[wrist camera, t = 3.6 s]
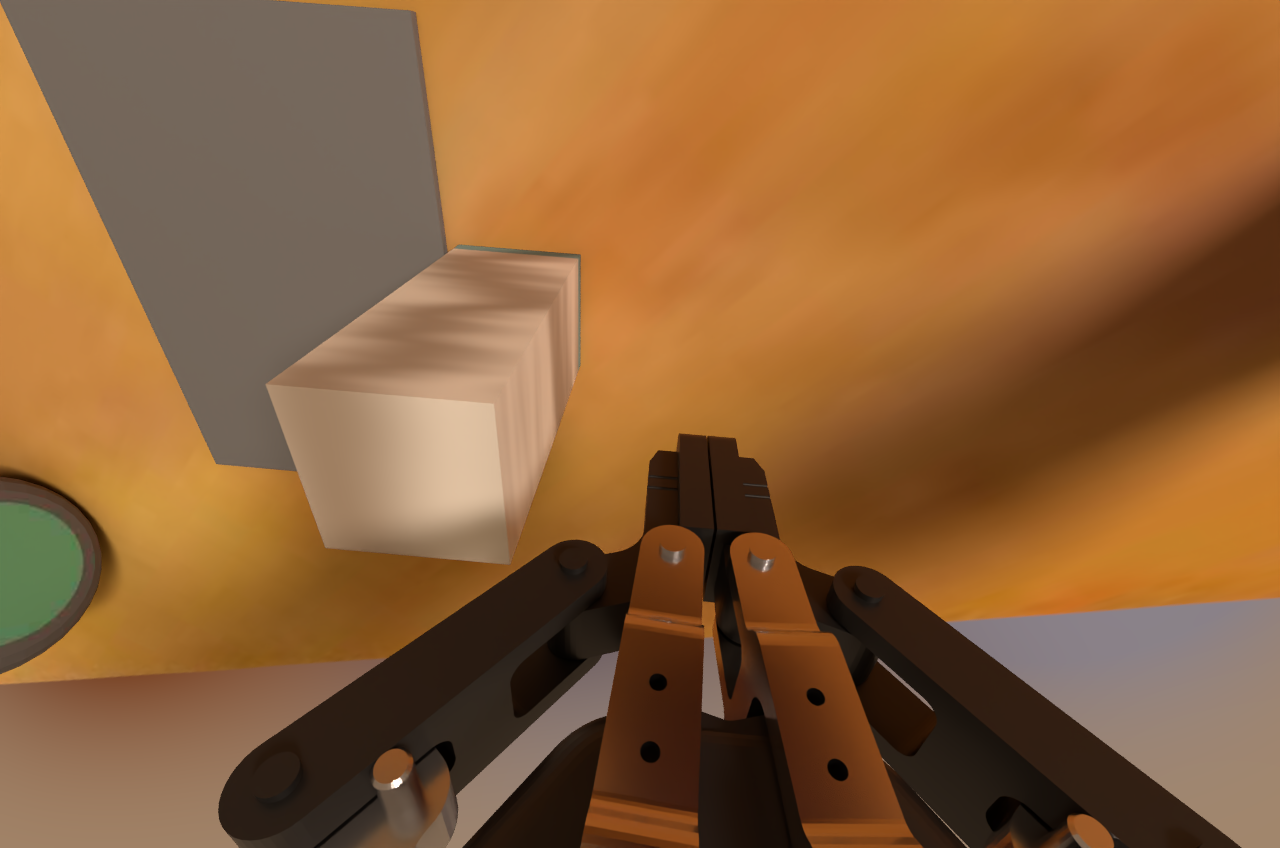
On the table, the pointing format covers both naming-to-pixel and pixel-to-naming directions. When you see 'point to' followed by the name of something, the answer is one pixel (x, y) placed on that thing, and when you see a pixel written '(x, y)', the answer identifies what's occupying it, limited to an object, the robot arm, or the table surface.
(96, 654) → the table surface
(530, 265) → the cream block
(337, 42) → the mat
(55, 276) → the table surface
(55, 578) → the headphones
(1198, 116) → the table surface
